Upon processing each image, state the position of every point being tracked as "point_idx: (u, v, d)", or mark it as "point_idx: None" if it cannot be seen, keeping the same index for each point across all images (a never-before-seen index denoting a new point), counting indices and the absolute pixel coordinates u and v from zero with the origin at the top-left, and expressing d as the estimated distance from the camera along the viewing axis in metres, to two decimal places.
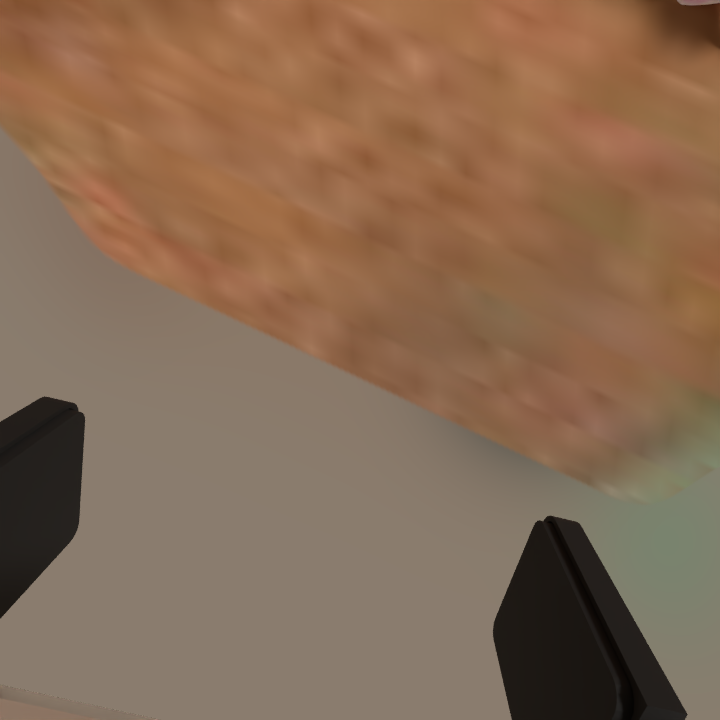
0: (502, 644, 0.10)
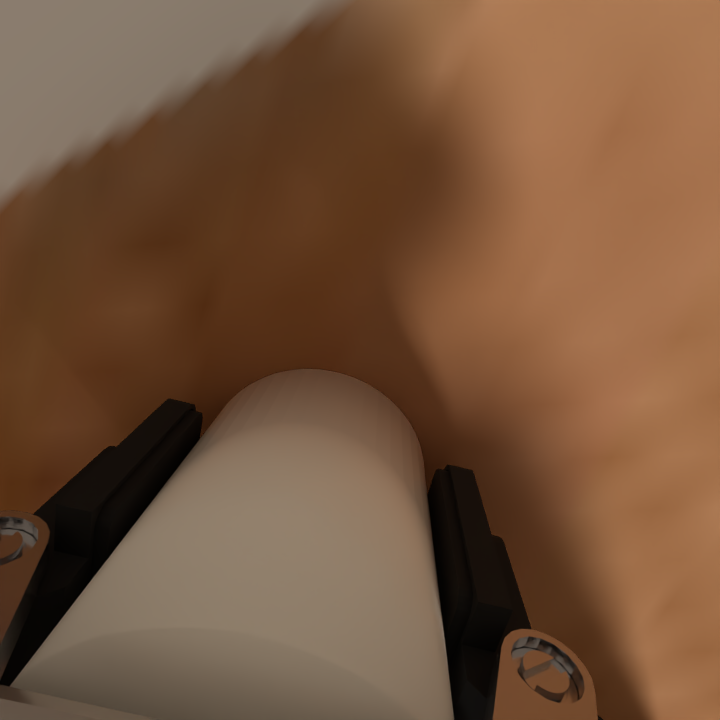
0: None
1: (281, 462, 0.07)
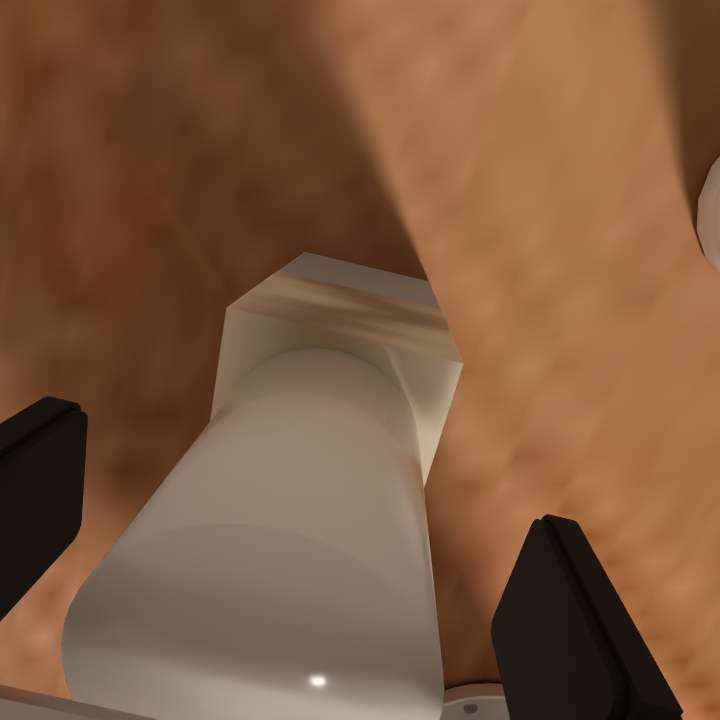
0: (500, 642, 0.10)
1: (294, 417, 0.09)
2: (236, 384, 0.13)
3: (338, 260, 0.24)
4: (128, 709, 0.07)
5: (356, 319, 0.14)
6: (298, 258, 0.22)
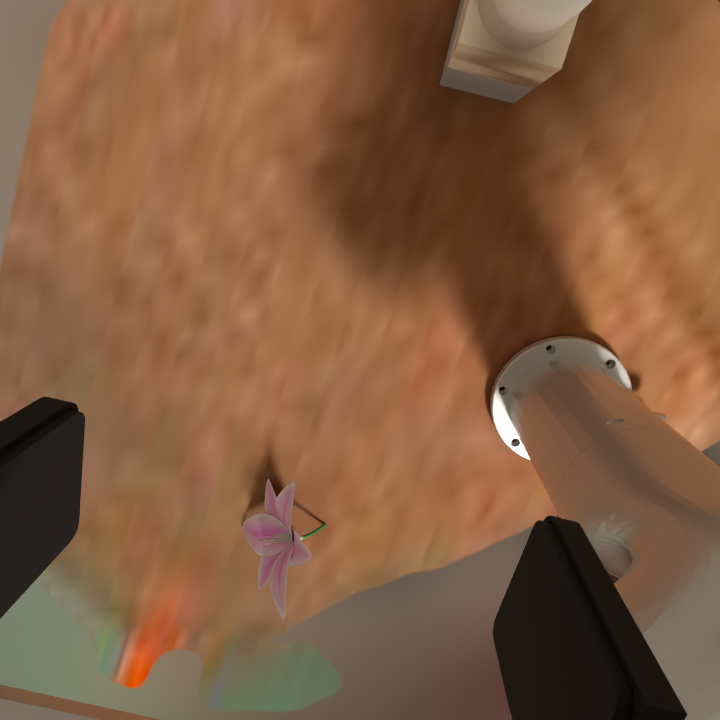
0: (502, 644, 0.10)
1: None
2: None
3: None
4: None
5: None
6: None
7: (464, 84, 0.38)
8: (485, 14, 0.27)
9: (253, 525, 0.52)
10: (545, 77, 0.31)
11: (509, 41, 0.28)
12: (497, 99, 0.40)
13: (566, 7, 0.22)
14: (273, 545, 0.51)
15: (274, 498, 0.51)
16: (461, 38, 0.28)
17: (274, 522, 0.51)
